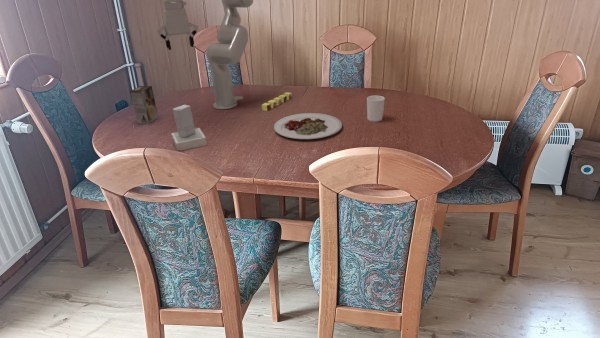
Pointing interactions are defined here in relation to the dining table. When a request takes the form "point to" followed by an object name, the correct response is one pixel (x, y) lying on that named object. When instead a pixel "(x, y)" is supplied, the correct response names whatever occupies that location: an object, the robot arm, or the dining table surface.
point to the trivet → (189, 140)
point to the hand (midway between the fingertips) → (181, 48)
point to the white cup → (375, 108)
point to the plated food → (308, 126)
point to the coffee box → (144, 104)
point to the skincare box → (184, 120)
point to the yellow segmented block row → (276, 101)
